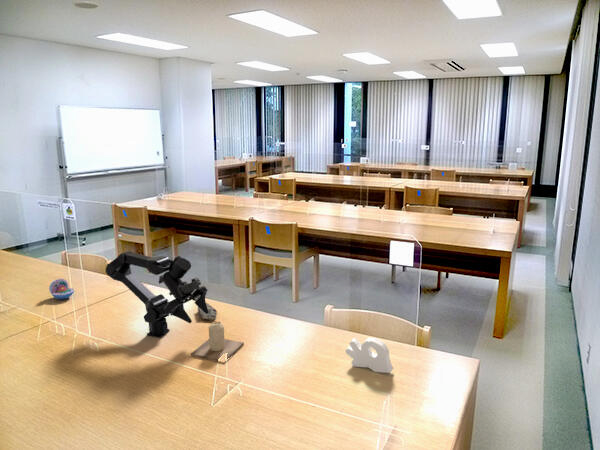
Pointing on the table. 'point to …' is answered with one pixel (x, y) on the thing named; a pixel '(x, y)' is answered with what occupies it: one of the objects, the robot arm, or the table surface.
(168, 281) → the robot arm
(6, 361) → the table surface
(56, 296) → the cell model
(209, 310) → the mineral rock
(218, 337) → the candle
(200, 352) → the walnut slab
